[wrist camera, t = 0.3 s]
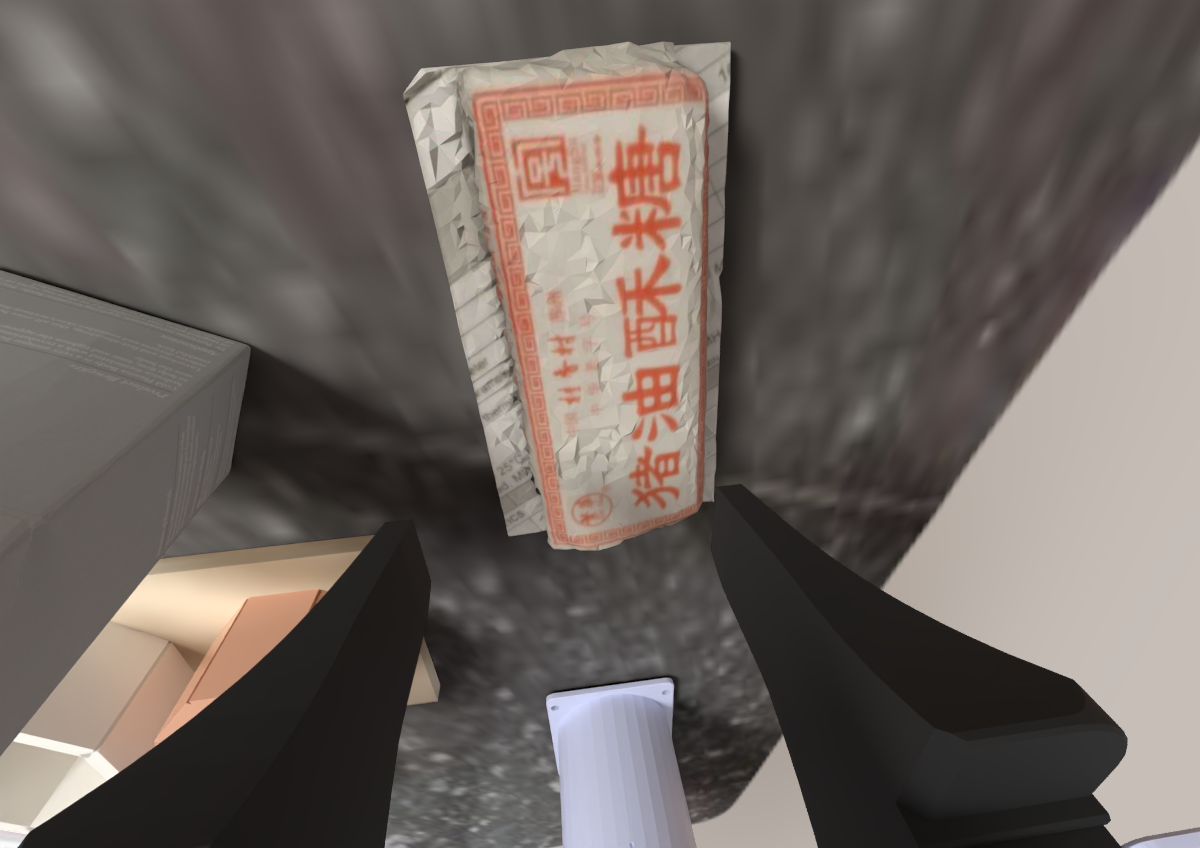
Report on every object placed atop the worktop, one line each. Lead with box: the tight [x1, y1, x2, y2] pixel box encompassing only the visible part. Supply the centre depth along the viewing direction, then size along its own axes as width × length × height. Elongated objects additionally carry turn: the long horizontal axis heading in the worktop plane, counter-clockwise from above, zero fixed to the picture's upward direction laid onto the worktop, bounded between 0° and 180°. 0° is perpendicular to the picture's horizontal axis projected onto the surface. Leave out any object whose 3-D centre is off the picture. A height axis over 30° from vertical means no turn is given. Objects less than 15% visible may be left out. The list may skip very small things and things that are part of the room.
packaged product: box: [403, 42, 730, 550], centre depth 19 cm, size 18×5×10 cm
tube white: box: [0, 621, 195, 834], centre depth 23 cm, size 8×8×5 cm
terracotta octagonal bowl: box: [154, 589, 327, 746], centre depth 24 cm, size 8×8×5 cm
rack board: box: [110, 535, 440, 705], centre depth 26 cm, size 12×20×1 cm, turn 93°
